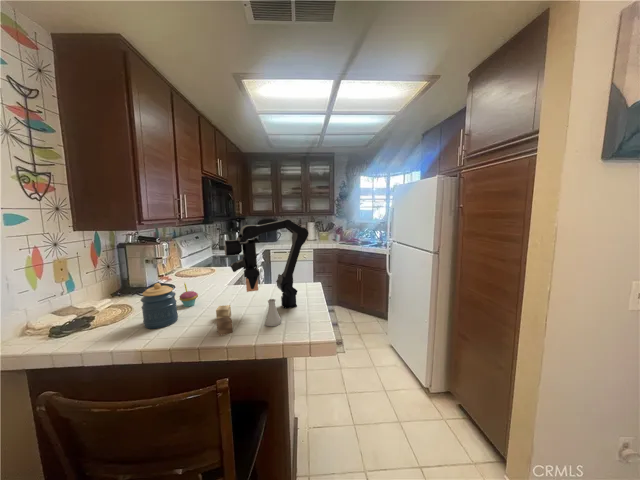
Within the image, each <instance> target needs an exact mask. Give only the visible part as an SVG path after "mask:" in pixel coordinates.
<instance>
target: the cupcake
mask: <svg viewBox="0 0 640 480" xmlns="http://www.w3.org/2000/svg"><path fill="white" fill-rule="evenodd" d="M183 285H184V288H185V289H184V290H185V291H184V292H182V293H181V294H180V295H179V296H178V297H179V301H181V303H182V304H183V306H184V308H188V307H189V308H190V307H193V306H195V303H196V300H197V299H198V298H199V294H198V292H196V291H194V290H191V291H190V290H188V288H187V283H186V282H185V281H184V284H183Z"/></svg>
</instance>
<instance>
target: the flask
mask: <svg viewBox="0 0 640 480" xmlns="http://www.w3.org/2000/svg"><path fill="white" fill-rule="evenodd" d="M267 303H268V309H267V314H266V317H265V320H264V326H266V327H277V326H279V325H280V324H282V318H281V317H280V315H279V312H278V309H277V306H276V299H275V298H269V299H268V300H267Z"/></svg>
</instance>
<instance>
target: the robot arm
mask: <svg viewBox="0 0 640 480" xmlns="http://www.w3.org/2000/svg"><path fill="white" fill-rule="evenodd" d="M283 229H285V230H287V231H288V232H289V233H291V234H292V235H291V247H290V250H289V253H288V257H287V260H286V263H285V266H284V269H283V272H282V274H280V273H279V274H278V275H277V279H276V281H275V282H276V287H277V289H279V290H280V291H281V297H280V302H281V303H280V304H281V306H282V309H291V308H297V307H298V305H297V294H298V290H297V289H296V288H295V287H293V285H294V272H295V269H296V265H297V264H298V263H297V262H298V260H299V259H298V258H299V256H300V252H301V249H302V247H303V245H305V243H306V241H307V239H308V237H309V230H308V229H307V227H303V226H300V225H299V224H297V223H295V222H293V221H292V220H291V219H288V218H284V219H282V220H277V221H272V222H268V223H263V224H247V225H246V224H245V225H243V226H242V227H241V228H240V230H239V231H240V232H239V234H238V236H237V238H236V239H231V240H229V239H226V240H224V248H223V250H224V254H225V257H230V256H232V257H233V256H238V255H240V254H241V253H242V258H241V259H239V260H237V261H235V262H232V263H231V264H230V268H231V270H232V273H235V272H237V271H239V270H241V269H243V276H244V278H245V279H246V278H248V280H249V283H250V286H251V289H254V287H255V284H256V281H257V279H258V278H259V276H260V270H259V268H258V256H257V244H259V243H261V241H260V240H259V239H258V238H257V237H258V236H260V235H262V234H265V233H269V232H273V231H279V230H283Z"/></svg>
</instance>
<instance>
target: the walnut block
mask: <svg viewBox="0 0 640 480" xmlns="http://www.w3.org/2000/svg"><path fill="white" fill-rule="evenodd" d="M215 323H216V331H217V334H218V335H219V337H220V336H221V337H222V336H225V335H228V334H232V333H234V328H233V319H232V318H231V317H229V316H227V317H223V318H219V319H217V318H216V319H215Z"/></svg>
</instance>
